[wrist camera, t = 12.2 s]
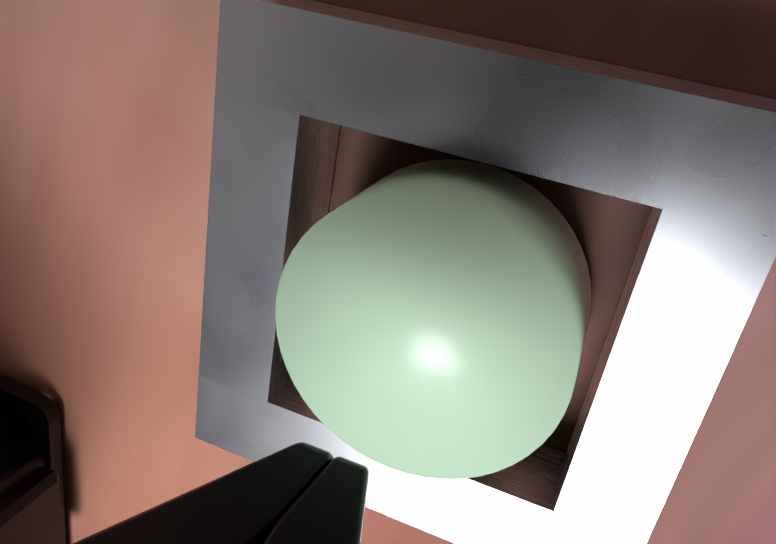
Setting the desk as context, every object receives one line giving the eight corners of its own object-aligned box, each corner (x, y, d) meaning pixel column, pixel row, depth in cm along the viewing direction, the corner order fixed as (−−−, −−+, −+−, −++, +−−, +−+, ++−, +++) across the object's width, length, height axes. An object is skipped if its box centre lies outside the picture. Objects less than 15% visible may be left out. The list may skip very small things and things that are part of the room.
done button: (319, 358, 15) (263, 418, 13) (353, 129, 13) (291, 156, 10) (548, 440, 13) (528, 521, 11) (629, 201, 11) (623, 247, 9)
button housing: (239, 395, 16) (195, 436, 15) (276, -8, 12) (221, -8, 11) (621, 541, 14) (616, 609, 12) (807, 105, 10) (834, 126, 9)
